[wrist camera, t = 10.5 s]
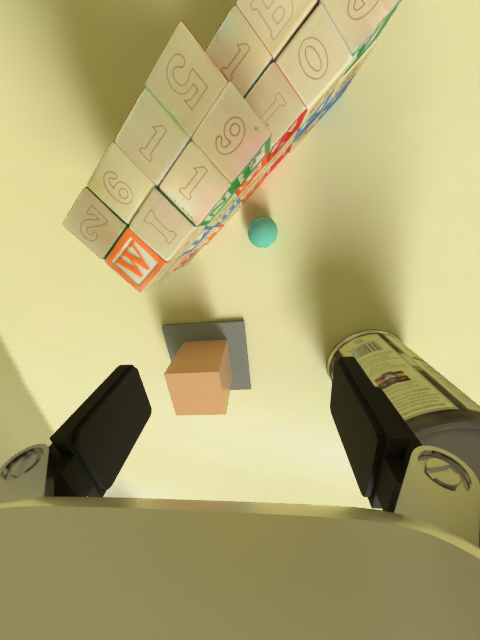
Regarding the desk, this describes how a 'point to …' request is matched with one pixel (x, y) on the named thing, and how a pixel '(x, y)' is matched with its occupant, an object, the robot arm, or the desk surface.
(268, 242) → the ball
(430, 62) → the desk surface
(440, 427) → the coffee can
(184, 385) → the tan cardboard-coloured cube
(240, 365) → the mat
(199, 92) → the stack of blocks
